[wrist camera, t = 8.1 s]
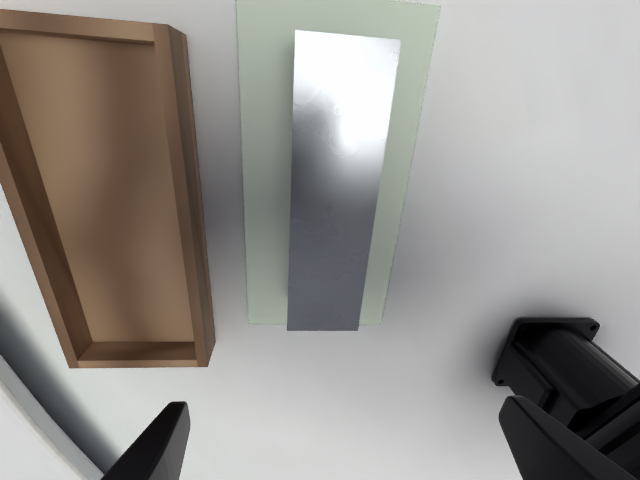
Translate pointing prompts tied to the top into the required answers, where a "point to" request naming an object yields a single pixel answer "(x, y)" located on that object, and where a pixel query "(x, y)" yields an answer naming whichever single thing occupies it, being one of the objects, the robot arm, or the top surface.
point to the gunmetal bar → (335, 172)
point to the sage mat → (277, 122)
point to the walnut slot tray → (107, 186)
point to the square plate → (35, 438)
